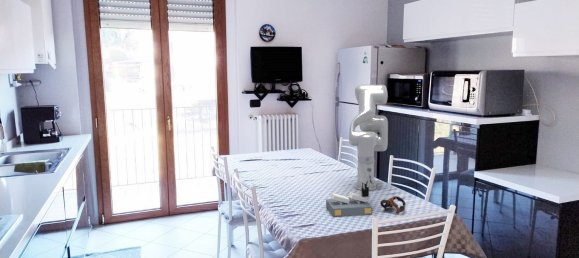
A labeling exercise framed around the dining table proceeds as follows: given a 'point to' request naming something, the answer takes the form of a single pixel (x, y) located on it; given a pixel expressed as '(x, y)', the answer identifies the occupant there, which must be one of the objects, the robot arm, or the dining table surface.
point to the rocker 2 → (357, 197)
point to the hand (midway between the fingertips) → (365, 196)
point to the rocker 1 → (340, 198)
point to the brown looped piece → (393, 204)
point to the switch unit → (348, 208)
